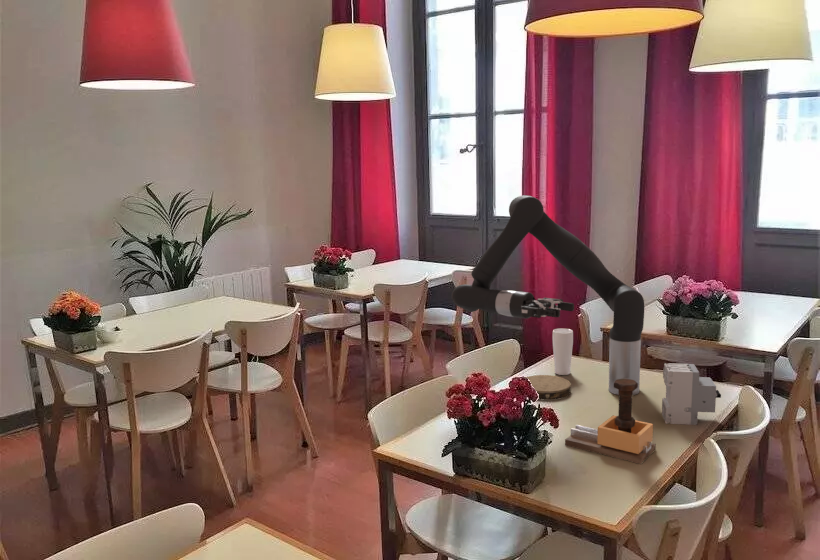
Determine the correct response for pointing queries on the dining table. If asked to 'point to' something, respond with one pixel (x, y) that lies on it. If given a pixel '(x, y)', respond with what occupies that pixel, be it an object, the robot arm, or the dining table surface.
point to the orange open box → (625, 436)
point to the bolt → (625, 404)
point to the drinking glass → (562, 350)
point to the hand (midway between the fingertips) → (566, 310)
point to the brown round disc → (550, 386)
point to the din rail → (596, 435)
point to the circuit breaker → (686, 394)
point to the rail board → (607, 449)
